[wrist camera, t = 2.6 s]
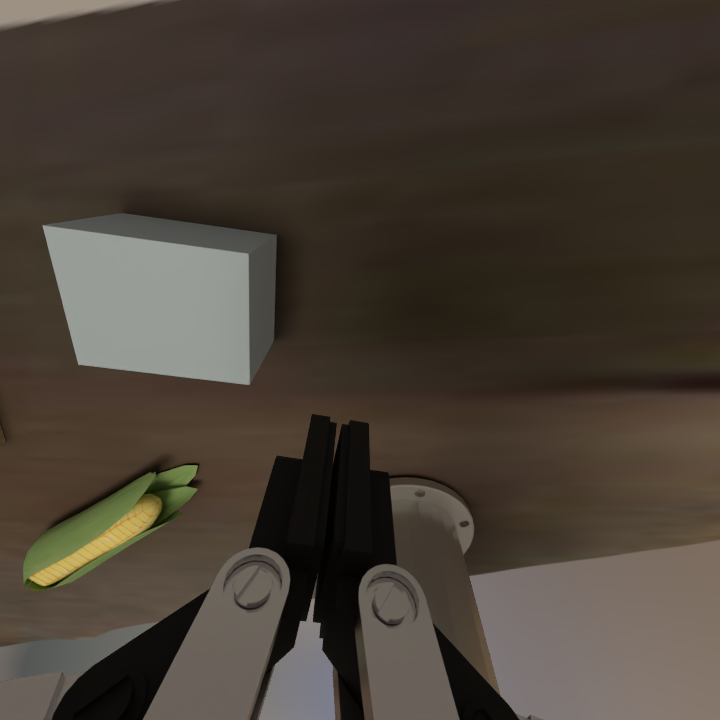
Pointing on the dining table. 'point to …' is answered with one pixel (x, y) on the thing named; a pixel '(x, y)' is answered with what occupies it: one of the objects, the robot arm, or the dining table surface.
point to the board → (2, 436)
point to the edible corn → (106, 528)
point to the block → (166, 295)
